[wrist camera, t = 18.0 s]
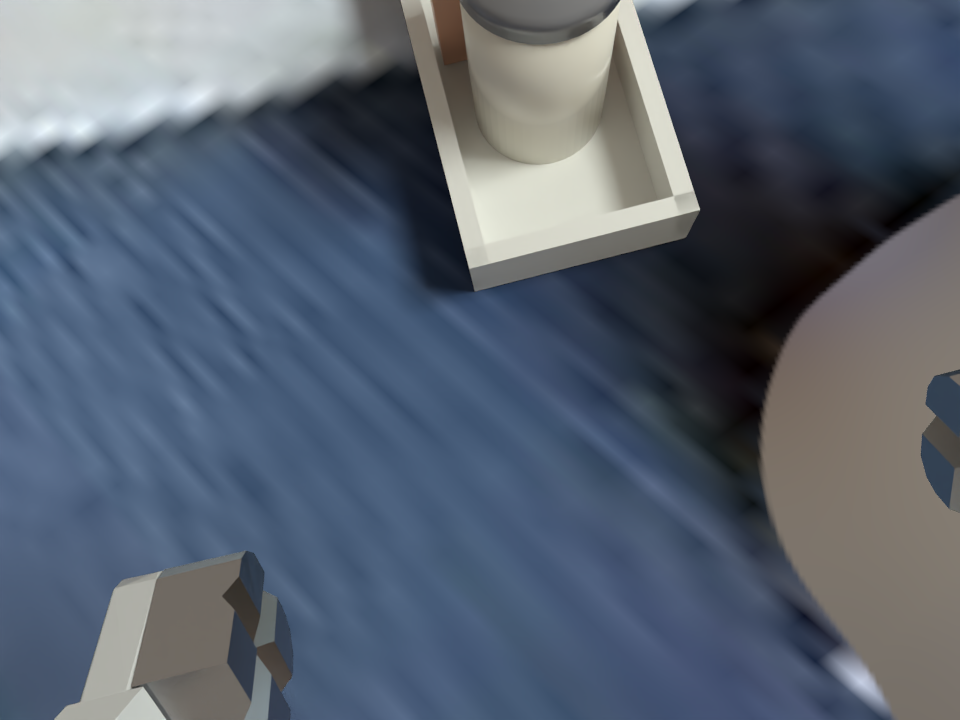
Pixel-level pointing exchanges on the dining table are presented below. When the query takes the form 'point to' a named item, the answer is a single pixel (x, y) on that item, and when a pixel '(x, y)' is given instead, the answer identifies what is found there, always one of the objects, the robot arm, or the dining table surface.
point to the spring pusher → (449, 30)
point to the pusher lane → (558, 168)
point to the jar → (539, 73)
